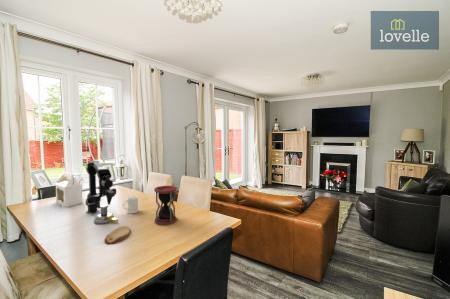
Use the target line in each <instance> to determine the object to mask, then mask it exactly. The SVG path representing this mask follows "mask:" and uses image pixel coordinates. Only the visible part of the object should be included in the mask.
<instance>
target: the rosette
mask: <svg viewBox="0 0 450 299" xmlns="http://www.w3.org/2000/svg"><path fill="white" fill-rule="evenodd" d="M113 214H114V213H111V212H107V215H106V216H101V213H98V214H97V215H95V216H94V219H93V223H94V224H95V225H106V224H116V223H119V219H118V217H117V218H116V217H115V215H113Z"/></svg>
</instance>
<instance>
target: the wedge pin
mask: <svg viewBox="0 0 450 299" xmlns="http://www.w3.org/2000/svg"><path fill="white" fill-rule="evenodd" d="M108 208H109V205H107V204H102V205H100V214H101V216H106V215H107V213H108Z"/></svg>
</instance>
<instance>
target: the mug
mask: <svg viewBox="0 0 450 299" xmlns="http://www.w3.org/2000/svg"><path fill="white" fill-rule="evenodd" d="M138 199H139V197H138V196H137V195H136V196H135V195H133V196H132V195H131V196H127V198H126V200H125V201H124V202H123V203H122V206H123V209H124V210H126V211H127V212H126V213H127V214H136V213H138V212H139V200H138ZM125 203H126V205H127V208H126V207H125Z"/></svg>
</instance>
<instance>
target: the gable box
mask: <svg viewBox="0 0 450 299" xmlns="http://www.w3.org/2000/svg"><path fill="white" fill-rule="evenodd" d="M74 176H75V174H73V173H70V172H68V171H67V172H66V171H64V174H62V175H61V176H60V178H59V179H58V180H57V181H56V183H55V202H56V204H59V205H61V206H63V207H65V208H68V207H72V206H77V205H79V204H80V205H81V204H83V185H82V183H81V182H79V180H78V179H77V177H74ZM67 206H68V207H67Z"/></svg>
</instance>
